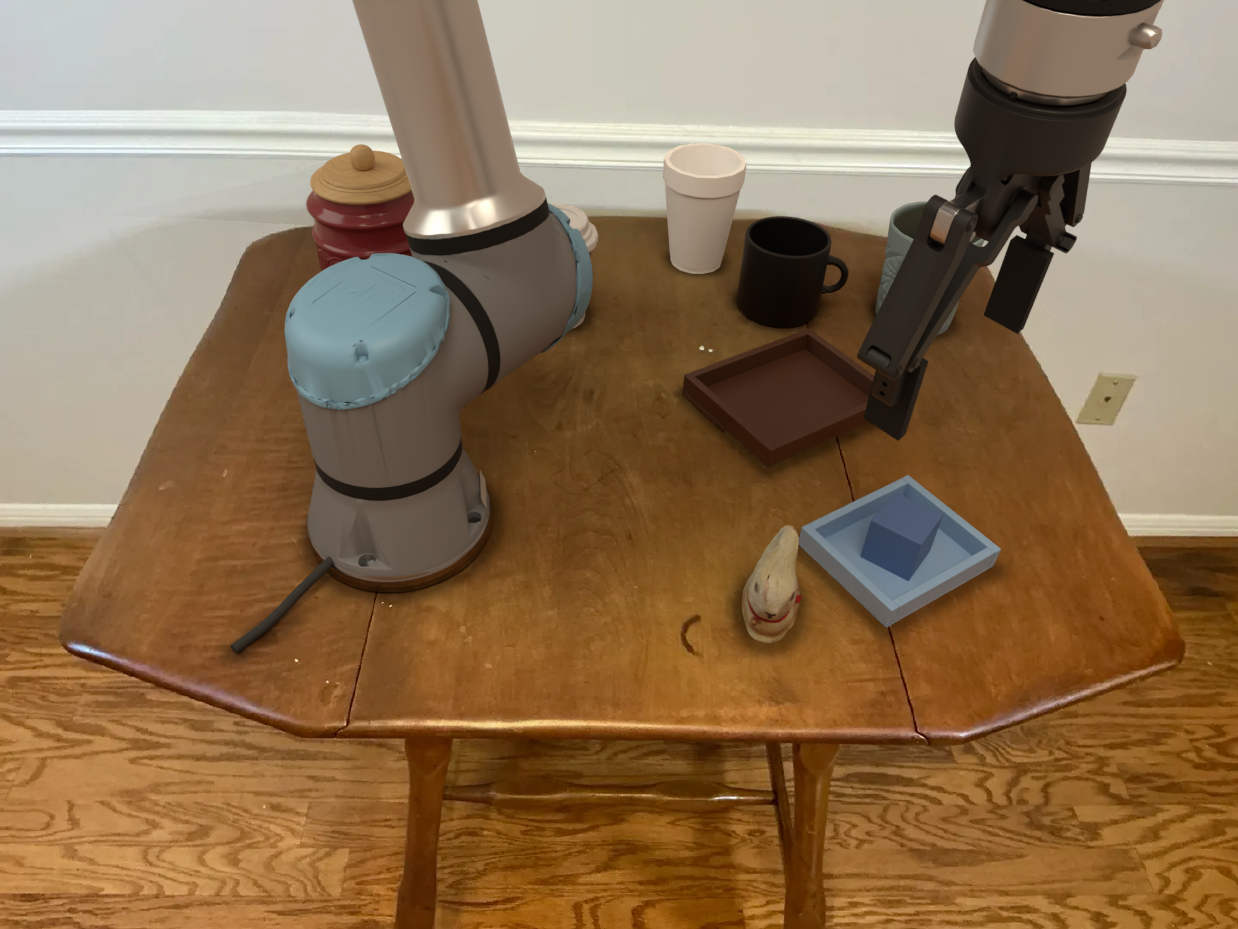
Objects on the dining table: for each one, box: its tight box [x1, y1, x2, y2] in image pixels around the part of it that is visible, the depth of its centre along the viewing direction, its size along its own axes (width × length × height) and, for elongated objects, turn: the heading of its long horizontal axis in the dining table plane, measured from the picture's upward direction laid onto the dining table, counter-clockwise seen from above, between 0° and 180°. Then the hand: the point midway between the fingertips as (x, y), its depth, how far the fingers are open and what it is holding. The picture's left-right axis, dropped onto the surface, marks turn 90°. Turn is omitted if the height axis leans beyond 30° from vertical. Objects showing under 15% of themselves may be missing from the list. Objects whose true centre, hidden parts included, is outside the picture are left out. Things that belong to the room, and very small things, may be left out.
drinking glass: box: [874, 200, 986, 337], centre depth 105 cm, size 10×10×12 cm
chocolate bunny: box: [741, 524, 803, 644], centre depth 72 cm, size 6×8×10 cm
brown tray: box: [681, 327, 875, 468], centre depth 95 cm, size 17×14×3 cm
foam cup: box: [662, 142, 748, 275], centre depth 113 cm, size 10×9×13 cm
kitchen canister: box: [305, 143, 414, 272], centre depth 103 cm, size 13×13×18 cm
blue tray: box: [798, 474, 1002, 628], centre depth 80 cm, size 13×11×3 cm
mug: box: [736, 215, 849, 328], centre depth 107 cm, size 9×12×9 cm
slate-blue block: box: [860, 492, 943, 581], centre depth 79 cm, size 4×4×4 cm
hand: (946, 372), depth 63 cm, fingers open, 13 cm apart
